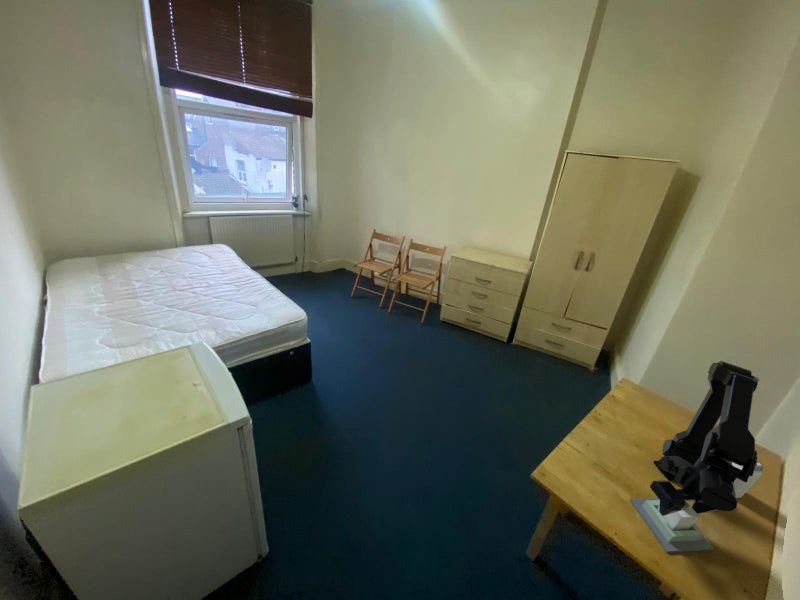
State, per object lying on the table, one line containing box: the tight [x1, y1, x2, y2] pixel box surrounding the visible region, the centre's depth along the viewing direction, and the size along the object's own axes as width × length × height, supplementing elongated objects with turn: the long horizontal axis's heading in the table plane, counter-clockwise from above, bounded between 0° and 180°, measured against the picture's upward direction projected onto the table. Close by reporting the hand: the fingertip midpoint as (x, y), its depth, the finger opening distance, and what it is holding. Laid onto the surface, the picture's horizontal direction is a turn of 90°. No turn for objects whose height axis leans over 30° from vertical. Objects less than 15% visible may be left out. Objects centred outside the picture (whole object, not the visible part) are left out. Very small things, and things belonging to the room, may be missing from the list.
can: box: [732, 460, 764, 499], centre depth 96 cm, size 6×6×12 cm
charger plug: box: [657, 501, 700, 531], centre depth 85 cm, size 5×5×8 cm
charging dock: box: [629, 497, 714, 553], centre depth 86 cm, size 13×13×3 cm
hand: (677, 513), depth 85 cm, fingers open, 9 cm apart
